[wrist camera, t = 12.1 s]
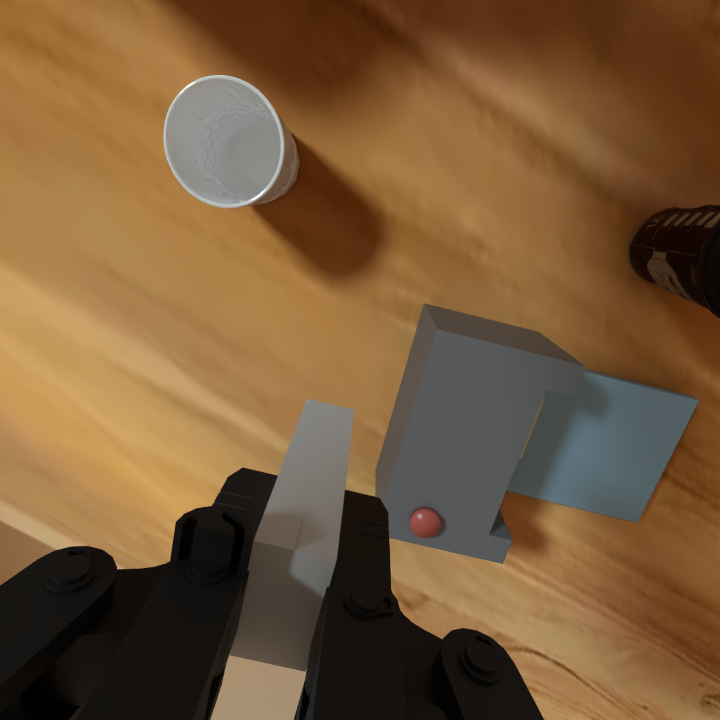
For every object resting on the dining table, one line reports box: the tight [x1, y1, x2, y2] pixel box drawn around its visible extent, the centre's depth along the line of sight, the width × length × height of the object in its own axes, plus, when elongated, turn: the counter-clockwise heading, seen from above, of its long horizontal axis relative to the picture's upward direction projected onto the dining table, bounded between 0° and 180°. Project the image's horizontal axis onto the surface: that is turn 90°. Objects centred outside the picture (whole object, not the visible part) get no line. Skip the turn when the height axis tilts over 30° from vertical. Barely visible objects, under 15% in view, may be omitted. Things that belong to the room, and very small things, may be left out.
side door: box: [506, 369, 699, 523], centre depth 45 cm, size 14×2×14 cm
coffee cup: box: [629, 205, 720, 318], centre depth 34 cm, size 9×8×13 cm
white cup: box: [164, 75, 300, 208], centre depth 35 cm, size 8×8×10 cm
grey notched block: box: [375, 304, 584, 564], centre depth 41 cm, size 19×11×11 cm, turn 166°
